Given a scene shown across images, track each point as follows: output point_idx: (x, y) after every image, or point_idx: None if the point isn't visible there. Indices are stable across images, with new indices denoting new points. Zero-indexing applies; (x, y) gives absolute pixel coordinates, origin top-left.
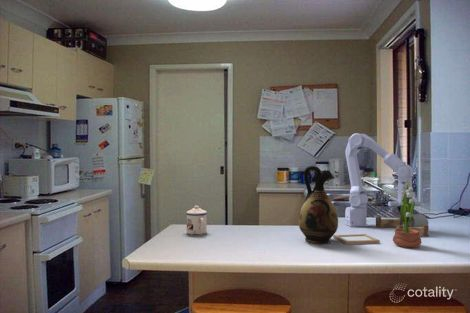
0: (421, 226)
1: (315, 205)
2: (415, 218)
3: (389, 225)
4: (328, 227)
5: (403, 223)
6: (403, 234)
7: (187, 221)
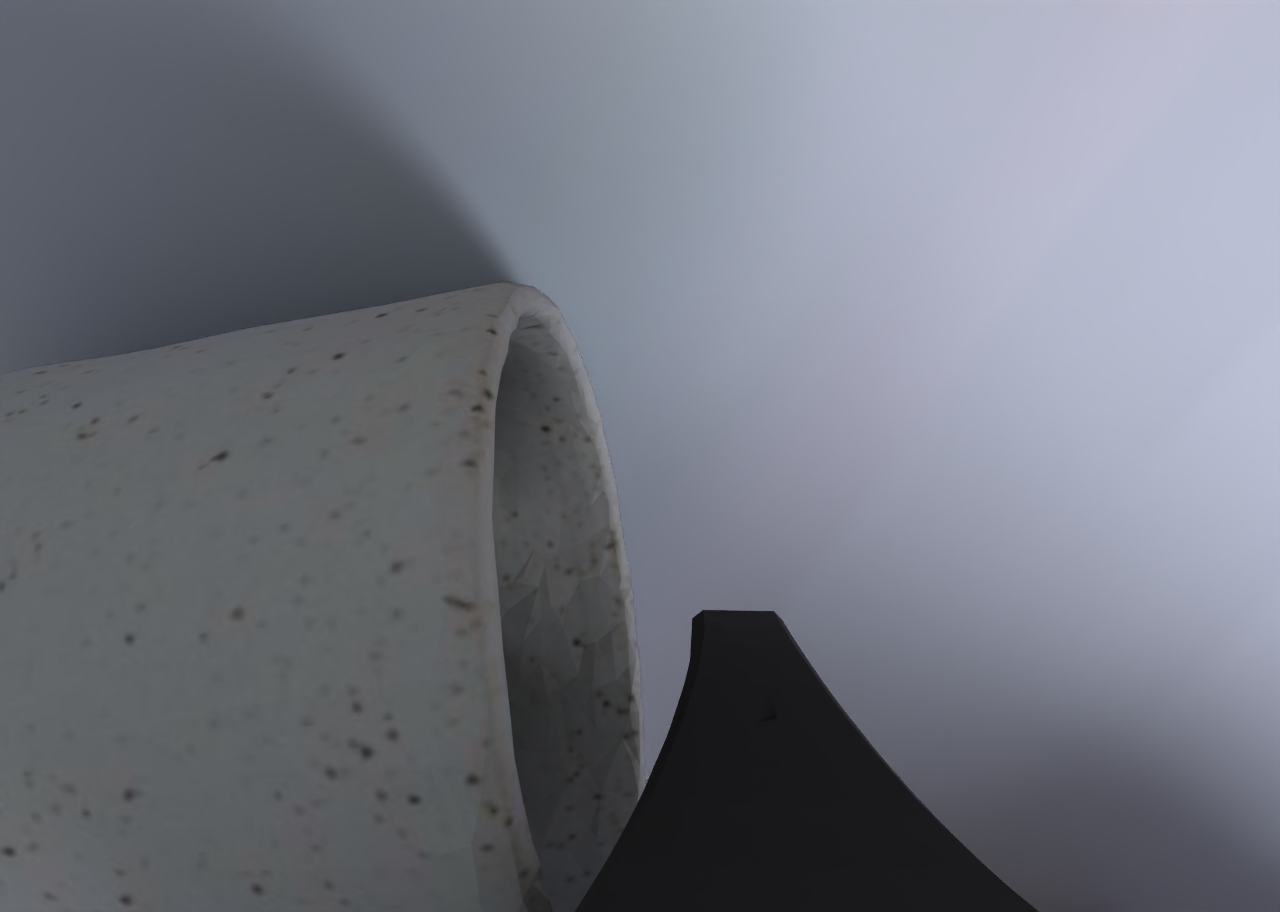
0: (202, 338)
1: None
2: (391, 492)
3: None
4: None
5: (642, 778)
6: None
7: None
